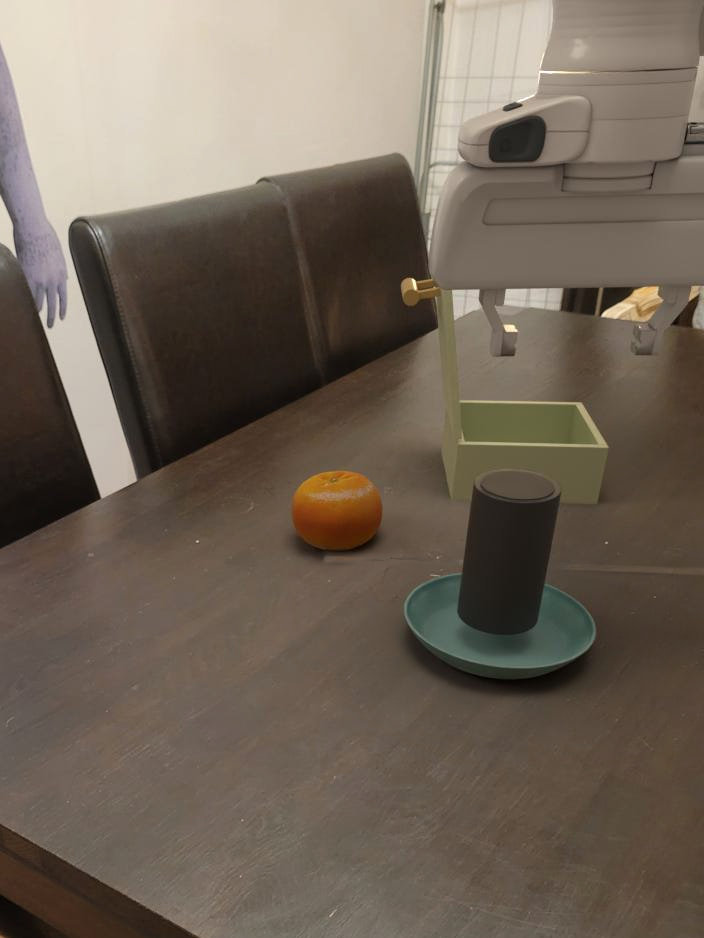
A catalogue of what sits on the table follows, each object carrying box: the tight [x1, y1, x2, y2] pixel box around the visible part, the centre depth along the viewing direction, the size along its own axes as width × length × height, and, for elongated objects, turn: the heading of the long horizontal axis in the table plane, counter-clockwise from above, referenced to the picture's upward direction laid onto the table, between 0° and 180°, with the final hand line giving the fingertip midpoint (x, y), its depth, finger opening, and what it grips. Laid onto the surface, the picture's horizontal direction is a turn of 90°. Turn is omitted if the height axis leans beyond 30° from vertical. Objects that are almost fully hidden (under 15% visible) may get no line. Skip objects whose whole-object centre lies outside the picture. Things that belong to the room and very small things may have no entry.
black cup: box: [457, 469, 562, 635], centre depth 73 cm, size 6×6×11 cm
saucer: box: [403, 572, 597, 680], centre depth 76 cm, size 15×15×3 cm
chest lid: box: [400, 277, 462, 440], centre depth 97 cm, size 15×14×4 cm
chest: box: [440, 399, 610, 505], centre depth 102 cm, size 15×14×7 cm
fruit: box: [290, 470, 383, 551], centre depth 91 cm, size 8×8×8 cm
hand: (572, 354), depth 65 cm, fingers open, 8 cm apart
